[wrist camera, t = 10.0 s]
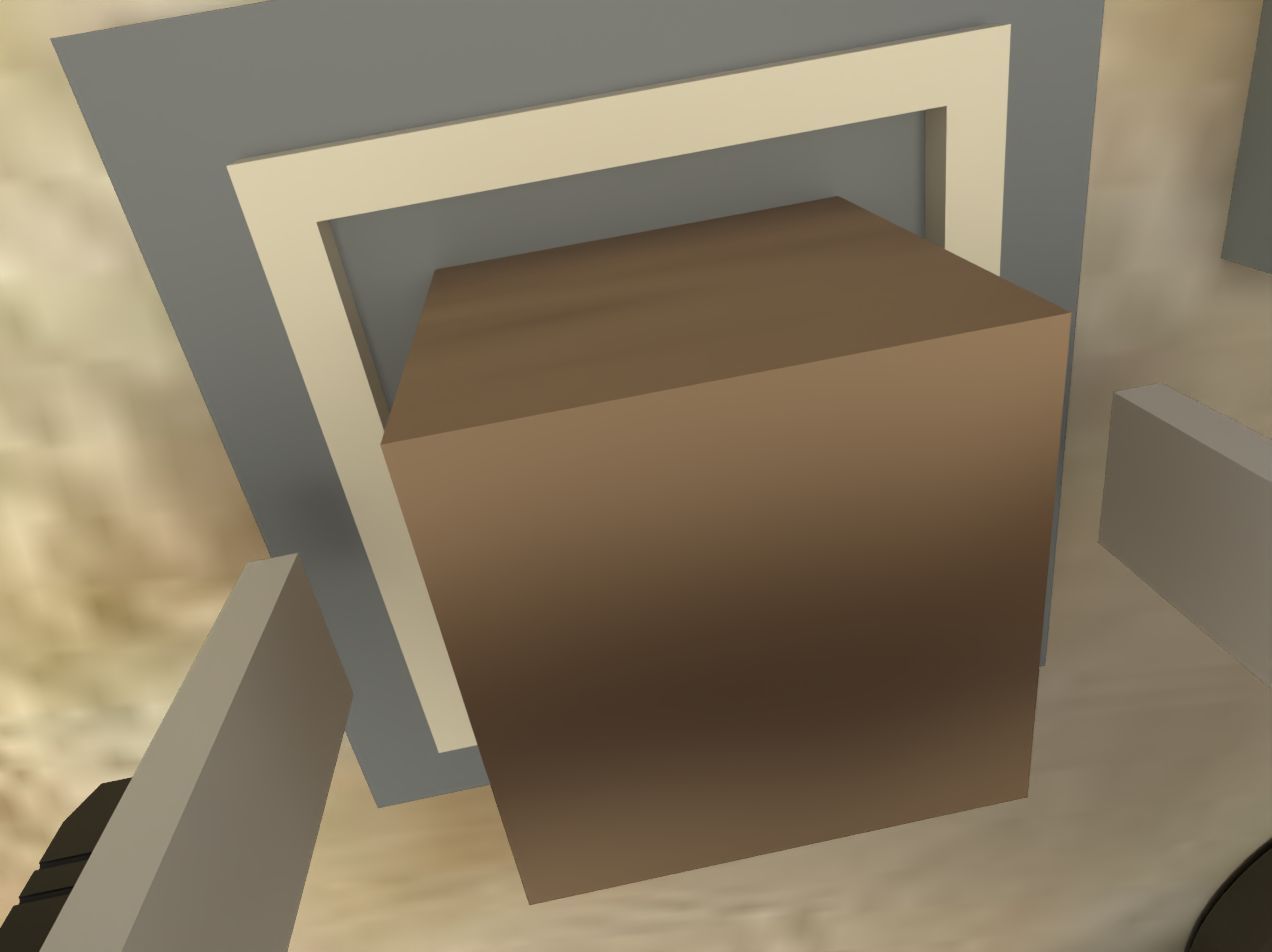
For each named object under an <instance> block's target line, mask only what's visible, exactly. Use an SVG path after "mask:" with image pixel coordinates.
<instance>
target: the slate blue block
mask: <svg viewBox="0 0 1272 952" xmlns="http://www.w3.org/2000/svg"><path fill="white" fill-rule="evenodd" d="M1221 258H1223V259H1227V260H1230V261H1233V262H1236V263H1239V264H1242V265H1245V266H1249V267H1252V268H1255V269H1258V270H1261V271H1264V272H1267V273H1271V274H1272V0H1264V2H1263V8H1262V14H1261V20H1260V26H1259V32H1258V38H1257V44H1256V50H1255V56H1254V62H1253V68H1252V74H1251V80H1250V86H1249V92H1248V98H1247V104H1246V111H1245V117H1244V123H1243V129H1242V135H1241V141H1240V147H1239V153H1238V159H1237V165H1236V171H1235V177H1234V183H1233V189H1232V195H1231V201H1230V207H1229V213H1228V219H1227V225H1226V232H1225V238H1224V244H1223V250H1222V256H1221Z"/></svg>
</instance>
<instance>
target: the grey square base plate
mask: <svg viewBox="0 0 1272 952" xmlns="http://www.w3.org/2000/svg"><path fill="white" fill-rule="evenodd" d="M1104 1H1105V0H271V1H266V2H260V3H254V4H248V5H242V6H237V7H231V8H225V9H219V10H214V11H208V12H202V13H196V14H190V15H185V16H179V17H173V18H167V19H162V20H156V21H150V22H144V23H138V24H133V25H127V26H121V27H115V28H110V29H104V30H98V31H92V32H87V33H81V34H75V35H69V36H63V37H58V38H52V39H51V42H52V44H53V46H54V49H55V51H56V53H57V56H58V58H59V60H60V63H61V65H62V67H63V70H64V72H65V74H66V77H67V79H68V81H69V84H70V86H71V88H72V91H73V93H74V96H75V98H76V100H77V103H78V105H79V107H80V110H81V112H82V114H83V117H84V119H85V121H86V124H87V126H88V128H89V131H90V133H91V135H92V138H93V140H94V142H95V145H96V147H97V149H98V152H99V154H100V157H101V159H102V161H103V164H104V166H105V168H106V171H107V173H108V175H109V178H110V180H111V182H112V185H113V187H114V189H115V192H116V194H117V196H118V199H119V201H120V203H121V206H122V208H123V211H124V213H125V215H126V218H127V220H128V222H129V225H130V227H131V229H132V232H133V234H134V236H135V239H136V241H137V243H138V246H139V248H140V250H141V253H142V255H143V257H144V260H145V262H146V265H147V267H148V269H149V272H150V274H151V276H152V279H153V281H154V283H155V286H156V288H157V290H158V293H159V295H160V297H161V300H162V302H163V304H164V307H165V309H166V311H167V314H168V316H169V319H170V321H171V323H172V326H173V328H174V330H175V333H176V335H177V337H178V340H179V342H180V344H181V347H182V349H183V351H184V354H185V356H186V358H187V361H188V363H189V365H190V368H191V370H192V373H193V375H194V377H195V380H196V382H197V384H198V387H199V389H200V391H201V394H202V396H203V398H204V401H205V403H206V405H207V408H208V410H209V412H210V415H211V417H212V419H213V422H214V424H215V427H216V429H217V431H218V434H219V436H220V438H221V441H222V443H223V445H224V448H225V450H226V452H227V455H228V457H229V459H230V462H231V464H232V466H233V469H234V471H235V473H236V476H237V478H238V481H239V483H240V485H241V488H242V490H243V492H244V495H245V497H246V499H247V502H248V504H249V506H250V509H251V511H252V513H253V516H254V518H255V520H256V523H257V525H258V527H259V530H260V532H261V535H262V537H263V539H264V542H265V544H266V546H267V549H268V551H269V553H270V556H271V558H275V557H280V556H285V555H290V554H295V553H298V554H299V557H300V559H301V562H302V564H303V567H304V569H305V572H306V574H307V577H308V579H309V582H310V584H311V587H312V590H313V592H314V595H315V597H316V600H317V602H318V605H319V607H320V610H321V612H322V615H323V617H324V620H325V622H326V625H327V627H328V630H329V632H330V635H331V637H332V640H333V642H334V645H335V647H336V650H337V652H338V655H339V658H340V660H341V663H342V665H343V668H344V670H345V673H346V675H347V678H348V680H349V683H350V685H351V688H352V690H353V693H354V696H353V699H352V703H351V707H350V711H349V715H348V719H347V723H346V726H345V732H346V734H347V736H348V739H349V741H350V743H351V746H352V748H353V750H354V753H355V755H356V758H357V760H358V762H359V765H360V767H361V769H362V772H363V774H364V776H365V779H366V781H367V783H368V786H369V788H370V790H371V793H372V795H373V797H374V800H375V802H376V804H377V807H378V808H382V807H387V806H391V805H396V804H401V803H405V802H410V801H415V800H419V799H424V798H429V797H433V796H438V795H443V794H447V793H452V792H457V791H461V790H466V789H471V788H475V787H480V786H485V785H489V784H490V782H489V779H488V776H487V773H486V770H485V767H484V764H483V760H482V757H481V754H480V751H479V748H478V745H477V742H476V739H475V736H474V733H473V730H472V727H471V723H470V720H469V717H468V714H467V711H466V708H465V705H464V702H463V699H462V696H461V693H460V689H459V686H458V683H457V680H456V677H455V674H454V671H453V668H452V665H451V662H450V659H449V656H448V652H447V649H446V646H445V643H444V640H443V637H442V634H441V631H440V628H439V625H438V622H437V619H436V615H435V612H434V609H433V606H432V603H431V600H430V597H429V594H428V591H427V588H426V585H425V582H424V578H423V575H422V572H421V569H420V566H419V563H418V560H417V557H416V554H415V551H414V548H413V545H412V541H411V538H410V535H409V532H408V529H407V526H406V523H405V520H404V517H403V514H402V511H401V508H400V504H399V501H398V498H397V495H396V492H395V489H394V486H393V483H392V480H391V477H390V474H389V470H388V467H387V464H386V461H385V458H384V455H383V452H382V449H381V446H380V444H381V441H382V438H383V434H384V431H385V428H386V425H387V422H388V418H389V415H390V412H391V409H392V406H393V403H394V399H395V396H396V393H397V390H398V387H399V383H400V380H401V377H402V374H403V371H404V367H405V364H406V361H407V358H408V355H409V351H410V348H411V345H412V342H413V339H414V335H415V332H416V329H417V326H418V323H419V319H420V316H421V313H422V310H423V307H424V304H425V300H426V297H427V294H428V291H429V288H430V284H431V281H432V278H433V275H434V272H435V270H436V269H442V268H447V267H453V266H458V265H464V264H469V263H475V262H480V261H485V260H491V259H496V258H502V257H507V256H513V255H518V254H524V253H529V252H535V251H540V250H546V249H551V248H557V247H562V246H567V245H573V244H578V243H584V242H589V241H595V240H600V239H606V238H611V237H617V236H622V235H628V234H633V233H639V232H644V231H650V230H655V229H660V228H666V227H671V226H677V225H682V224H688V223H693V222H699V221H704V220H710V219H715V218H721V217H726V216H732V215H737V214H742V213H748V212H753V211H759V210H764V209H770V208H775V207H781V206H786V205H792V204H797V203H803V202H808V201H814V200H819V199H824V198H830V197H835V196H839V197H841V198H843V199H845V200H847V201H849V202H851V203H853V204H855V205H857V206H859V207H861V208H863V209H865V210H867V211H869V212H871V213H873V214H875V215H877V216H879V217H881V218H883V219H885V220H887V221H889V222H891V223H893V224H895V225H897V226H899V227H901V228H903V229H905V230H907V231H909V232H911V233H913V234H915V235H917V236H919V237H921V238H923V239H925V240H927V241H929V242H931V243H933V244H935V245H937V246H939V247H941V248H943V249H945V250H947V251H949V252H951V253H953V254H955V255H957V256H959V257H961V258H963V259H965V260H967V261H969V262H971V263H973V264H975V265H977V266H979V267H981V268H983V269H985V270H987V271H989V272H991V273H993V274H995V275H997V276H999V277H1001V278H1003V279H1005V280H1007V281H1009V282H1011V283H1013V284H1015V285H1017V286H1019V287H1021V288H1023V289H1025V290H1027V291H1029V292H1031V293H1033V294H1035V295H1037V296H1039V297H1041V298H1043V299H1045V300H1047V301H1049V302H1051V303H1053V304H1055V305H1057V306H1059V307H1061V308H1063V309H1065V310H1067V311H1069V312H1071V324H1070V335H1069V346H1068V357H1067V368H1066V379H1065V390H1064V401H1063V412H1062V423H1061V434H1060V445H1059V456H1058V467H1057V478H1056V489H1055V500H1054V511H1053V522H1052V533H1051V544H1050V555H1049V566H1048V577H1047V588H1046V599H1045V610H1044V621H1043V632H1042V643H1041V654H1040V665H1039V667H1041V666H1045V663H1046V652H1047V641H1048V630H1049V618H1050V607H1051V596H1052V585H1053V574H1054V562H1055V551H1056V540H1057V529H1058V517H1059V506H1060V495H1061V484H1062V473H1063V461H1064V450H1065V439H1066V428H1067V417H1068V405H1069V394H1070V383H1071V372H1072V360H1073V349H1074V338H1075V327H1076V316H1077V304H1078V293H1079V282H1080V271H1081V259H1082V248H1083V237H1084V226H1085V215H1086V203H1087V192H1088V181H1089V170H1090V158H1091V147H1092V136H1093V125H1094V114H1095V102H1096V91H1097V80H1098V69H1099V58H1100V46H1101V35H1102V24H1103V13H1104Z"/></svg>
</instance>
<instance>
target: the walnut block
mask: <svg viewBox="0 0 1272 952" xmlns="http://www.w3.org/2000/svg"><path fill="white" fill-rule="evenodd" d="M1070 324H1071V312H1069V311H1067V310H1065V309H1063V308H1061V307H1059V306H1057V305H1055V304H1053V303H1051V302H1049V301H1047V300H1045V299H1043V298H1041V297H1039V296H1037V295H1035V294H1033V293H1031V292H1029V291H1027V290H1025V289H1023V288H1021V287H1019V286H1017V285H1015V284H1013V283H1011V282H1009V281H1007V280H1005V279H1003V278H1001V277H999V276H997V275H995V274H993V273H991V272H989V271H987V270H985V269H983V268H981V267H979V266H977V265H975V264H973V263H971V262H969V261H967V260H965V259H963V258H961V257H959V256H957V255H955V254H953V253H951V252H949V251H947V250H945V249H943V248H941V247H939V246H937V245H935V244H933V243H931V242H929V241H927V240H925V239H923V238H921V237H919V236H917V235H915V234H913V233H911V232H909V231H907V230H905V229H903V228H901V227H899V226H897V225H895V224H893V223H891V222H889V221H887V220H885V219H883V218H881V217H879V216H877V215H875V214H873V213H871V212H869V211H867V210H865V209H863V208H861V207H859V206H857V205H855V204H853V203H851V202H849V201H847V200H845V199H843V198H841V197H839V196H835V197H830V198H824V199H819V200H814V201H808V202H803V203H797V204H792V205H786V206H781V207H775V208H770V209H764V210H759V211H753V212H748V213H742V214H737V215H732V216H726V217H721V218H715V219H710V220H704V221H699V222H693V223H688V224H682V225H677V226H671V227H666V228H660V229H655V230H650V231H644V232H639V233H633V234H628V235H622V236H617V237H611V238H606V239H600V240H595V241H589V242H584V243H578V244H573V245H567V246H562V247H557V248H551V249H546V250H540V251H535V252H529V253H524V254H518V255H513V256H507V257H502V258H496V259H491V260H485V261H480V262H475V263H469V264H464V265H458V266H453V267H447V268H442V269H436V270H435V272H434V275H433V278H432V281H431V284H430V288H429V291H428V294H427V297H426V300H425V304H424V307H423V310H422V313H421V316H420V319H419V323H418V326H417V329H416V332H415V335H414V339H413V342H412V345H411V348H410V351H409V355H408V358H407V361H406V364H405V367H404V371H403V374H402V377H401V380H400V383H399V387H398V390H397V393H396V396H395V399H394V403H393V406H392V409H391V412H390V415H389V418H388V422H387V425H386V428H385V431H384V434H383V438H382V441H381V444H380V446H381V449H382V452H383V455H384V458H385V461H386V464H387V467H388V470H389V474H390V477H391V480H392V483H393V486H394V489H395V492H396V495H397V498H398V501H399V504H400V508H401V511H402V514H403V517H404V520H405V523H406V526H407V529H408V532H409V535H410V538H411V541H412V545H413V548H414V551H415V554H416V557H417V560H418V563H419V566H420V569H421V572H422V575H423V578H424V582H425V585H426V588H427V591H428V594H429V597H430V600H431V603H432V606H433V609H434V612H435V615H436V619H437V622H438V625H439V628H440V631H441V634H442V637H443V640H444V643H445V646H446V649H447V652H448V656H449V659H450V662H451V665H452V668H453V671H454V674H455V677H456V680H457V683H458V686H459V689H460V693H461V696H462V699H463V702H464V705H465V708H466V711H467V714H468V717H469V720H470V723H471V727H472V730H473V733H474V736H475V739H476V742H477V745H478V748H479V751H480V754H481V757H482V760H483V764H484V767H485V770H486V773H487V776H488V779H489V782H490V785H491V788H492V791H493V794H494V797H495V801H496V804H497V807H498V810H499V813H500V816H501V819H502V822H503V825H504V828H505V831H506V834H507V838H508V841H509V844H510V847H511V850H512V853H513V856H514V859H515V862H516V865H517V868H518V871H519V875H520V878H521V881H522V884H523V887H524V890H525V893H526V896H527V899H528V902H529V905H533V904H537V903H542V902H547V901H551V900H556V899H560V898H565V897H570V896H574V895H579V894H583V893H588V892H593V891H597V890H602V889H607V888H611V887H616V886H620V885H625V884H630V883H634V882H639V881H643V880H648V879H653V878H657V877H662V876H666V875H671V874H676V873H680V872H685V871H689V870H694V869H699V868H703V867H708V866H712V865H717V864H722V863H726V862H731V861H735V860H740V859H745V858H749V857H754V856H759V855H763V854H768V853H772V852H777V851H782V850H786V849H791V848H795V847H800V846H805V845H809V844H814V843H818V842H823V841H828V840H832V839H837V838H841V837H846V836H851V835H855V834H860V833H864V832H869V831H874V830H878V829H883V828H887V827H892V826H897V825H901V824H906V823H911V822H915V821H920V820H924V819H929V818H934V817H938V816H943V815H947V814H952V813H957V812H961V811H966V810H970V809H975V808H980V807H984V806H989V805H993V804H998V803H1003V802H1007V801H1012V800H1016V799H1021V798H1026V797H1028V786H1029V775H1030V764H1031V753H1032V742H1033V731H1034V720H1035V709H1036V698H1037V687H1038V676H1039V665H1040V654H1041V643H1042V632H1043V621H1044V610H1045V599H1046V588H1047V577H1048V566H1049V555H1050V544H1051V533H1052V522H1053V511H1054V500H1055V489H1056V478H1057V467H1058V456H1059V445H1060V434H1061V423H1062V412H1063V401H1064V390H1065V379H1066V368H1067V357H1068V346H1069V335H1070Z"/></svg>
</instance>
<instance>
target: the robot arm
mask: <svg viewBox="0 0 1272 952" xmlns="http://www.w3.org/2000/svg"><path fill="white" fill-rule="evenodd" d="M1098 542H1099V543H1100V544H1101V545H1102V546H1103V547H1104V548H1106V549H1107V550H1108V551H1109V552H1110V553H1112V554H1113V555H1114V556H1115V557H1116V558H1117V559H1119V560H1120V561H1121V562H1122V563H1123V564H1124V565H1126V566H1127V567H1128V568H1129V569H1130V570H1132V571H1133V572H1134V573H1135V574H1136V575H1137V576H1139V577H1140V578H1141V579H1142V580H1143V581H1144V582H1146V583H1147V584H1148V585H1149V586H1150V587H1152V588H1153V589H1154V590H1155V591H1156V592H1157V593H1159V594H1160V595H1161V596H1162V597H1163V598H1165V599H1166V600H1167V601H1168V602H1169V603H1170V604H1172V605H1173V606H1174V607H1175V608H1176V609H1177V610H1179V611H1180V612H1181V613H1182V614H1183V615H1185V616H1186V617H1187V618H1188V619H1189V620H1190V621H1192V622H1193V623H1194V624H1195V625H1196V626H1197V627H1199V628H1200V629H1201V630H1202V631H1203V632H1205V633H1206V634H1207V635H1208V636H1209V637H1210V638H1212V639H1213V640H1214V641H1215V642H1216V643H1217V644H1219V645H1220V646H1221V647H1222V648H1223V649H1225V650H1226V651H1227V652H1228V653H1229V654H1230V655H1232V656H1233V657H1234V658H1235V659H1236V660H1238V661H1239V662H1240V663H1241V664H1242V665H1243V666H1245V667H1246V668H1247V669H1248V670H1249V671H1250V672H1252V673H1253V674H1254V675H1255V676H1256V677H1258V678H1259V679H1260V680H1261V681H1262V682H1263V683H1265V684H1266V685H1267V686H1268V687H1269V688H1270V689H1272V440H1271V439H1269V438H1267V437H1265V436H1263V435H1261V434H1259V433H1257V432H1255V431H1253V430H1251V429H1250V428H1248V427H1246V426H1244V425H1242V424H1240V423H1238V422H1236V421H1234V420H1232V419H1230V418H1228V417H1226V416H1224V415H1222V414H1221V413H1219V412H1217V411H1215V410H1213V409H1211V408H1209V407H1207V406H1205V405H1203V404H1201V403H1199V402H1197V401H1195V400H1193V399H1192V398H1190V397H1188V396H1186V395H1184V394H1182V393H1180V392H1178V391H1176V390H1174V389H1172V388H1170V387H1168V386H1166V385H1164V384H1162V383H1157V384H1152V385H1147V386H1141V387H1136V388H1131V389H1126V390H1121V391H1116V392H1113V402H1112V412H1111V421H1110V431H1109V441H1108V451H1107V461H1106V471H1105V481H1104V490H1103V500H1102V510H1101V520H1100V530H1099V540H1098ZM353 696H354V693H353V690H352V688H351V685H350V683H349V680H348V678H347V675H346V673H345V670H344V668H343V665H342V663H341V660H340V658H339V655H338V652H337V650H336V647H335V645H334V642H333V640H332V637H331V635H330V632H329V630H328V627H327V625H326V622H325V620H324V617H323V615H322V612H321V610H320V607H319V605H318V602H317V600H316V597H315V595H314V592H313V590H312V587H311V584H310V582H309V579H308V577H307V574H306V572H305V569H304V567H303V564H302V562H301V559H300V557H299V554H298V553H295V554H290V555H285V556H280V557H275V558H269V559H264V560H259V561H254V562H249V563H247V564H246V566H245V567H244V569H243V571H242V573H241V575H240V577H239V579H238V580H237V582H236V584H235V586H234V588H233V590H232V592H231V594H230V595H229V597H228V599H227V601H226V603H225V605H224V607H223V609H222V610H221V612H220V614H219V616H218V618H217V620H216V622H215V624H214V625H213V627H212V629H211V631H210V633H209V635H208V637H207V639H206V640H205V642H204V644H203V646H202V648H201V650H200V652H199V654H198V655H197V657H196V659H195V661H194V663H193V665H192V667H191V668H190V670H189V672H188V674H187V676H186V678H185V680H184V682H183V683H182V685H181V687H180V689H179V691H178V693H177V695H176V697H175V698H174V700H173V702H172V704H171V706H170V708H169V710H168V712H167V713H166V715H165V717H164V719H163V721H162V723H161V725H160V727H159V728H158V730H157V732H156V734H155V736H154V738H153V740H152V742H151V743H150V745H149V747H148V749H147V751H146V753H145V755H144V756H143V758H142V760H141V762H140V764H139V766H138V768H137V770H136V771H135V773H134V775H133V777H132V778H127V779H122V780H117V781H112V782H107V783H102V784H101V785H100V786H99V787H98V788H97V789H96V790H95V791H94V792H93V793H92V794H91V795H90V796H89V797H88V798H87V799H86V800H85V801H84V802H83V803H82V804H81V805H80V806H79V807H78V808H77V809H76V810H75V811H74V812H73V813H72V814H71V815H70V816H69V817H68V818H67V819H66V820H65V821H64V822H63V823H62V825H61V827H60V828H59V830H58V832H57V834H56V835H55V837H54V839H53V840H52V842H51V844H50V845H49V847H48V849H47V850H46V852H45V854H44V855H43V857H42V859H41V861H40V862H39V864H40V869H39V870H36V871H34V872H33V874H32V876H31V877H30V879H29V881H28V882H27V884H26V886H25V888H24V889H23V891H22V893H21V894H20V896H19V899H20V903H19V905H15V906H13V908H12V909H11V911H10V913H9V914H8V916H7V918H6V920H5V921H4V923H3V925H2V926H1V928H0V952H287V951H288V947H289V943H290V939H291V935H292V931H293V927H294V924H295V920H296V916H297V912H298V908H299V904H300V900H301V897H302V893H303V889H304V885H305V881H306V877H307V873H308V869H309V866H310V862H311V858H312V854H313V850H314V846H315V842H316V839H317V835H318V831H319V827H320V823H321V819H322V815H323V811H324V808H325V804H326V800H327V796H328V792H329V788H330V784H331V781H332V777H333V773H334V769H335V765H336V761H337V757H338V753H339V750H340V746H341V742H342V738H343V734H344V730H345V726H346V723H347V719H348V715H349V711H350V707H351V703H352V699H353ZM1190 952H1272V848H1271V849H1270V850H1268V851H1267V852H1266V853H1265V854H1264V855H1262V856H1261V857H1260V858H1259V859H1258V860H1257V861H1255V862H1254V863H1253V864H1252V865H1251V866H1250V867H1249V868H1248V869H1247V870H1246V871H1245V872H1244V873H1243V874H1242V875H1241V876H1240V877H1239V878H1238V879H1237V880H1236V881H1235V882H1234V883H1233V884H1232V885H1231V886H1230V887H1229V888H1228V890H1227V891H1226V892H1225V893H1224V894H1223V895H1222V897H1221V898H1220V899H1219V900H1218V902H1217V903H1216V904H1215V905H1214V907H1213V908H1212V910H1211V911H1210V913H1209V914H1208V915H1207V917H1206V919H1205V920H1204V922H1203V924H1202V925H1201V927H1200V929H1199V931H1198V933H1197V935H1196V937H1195V939H1194V941H1193V944H1192V946H1191V949H1190Z"/></svg>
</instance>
